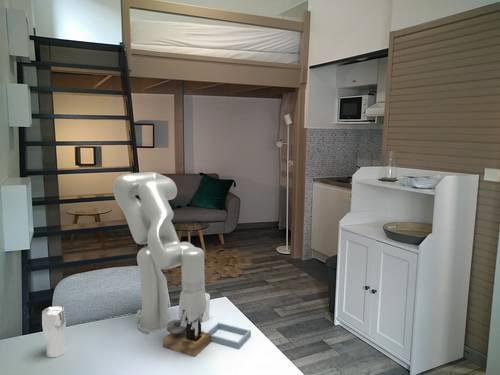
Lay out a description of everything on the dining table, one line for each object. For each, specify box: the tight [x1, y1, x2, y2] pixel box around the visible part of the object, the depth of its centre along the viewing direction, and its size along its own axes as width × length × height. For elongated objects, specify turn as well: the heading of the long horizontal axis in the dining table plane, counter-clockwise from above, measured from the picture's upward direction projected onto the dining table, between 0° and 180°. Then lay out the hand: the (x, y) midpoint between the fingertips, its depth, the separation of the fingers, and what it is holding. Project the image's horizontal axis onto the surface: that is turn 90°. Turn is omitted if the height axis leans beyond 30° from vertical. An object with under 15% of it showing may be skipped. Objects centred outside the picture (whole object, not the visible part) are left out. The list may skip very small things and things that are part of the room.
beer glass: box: [41, 305, 67, 359], centre depth 129 cm, size 7×7×15 cm
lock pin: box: [188, 316, 200, 342], centre depth 132 cm, size 4×4×11 cm
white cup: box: [202, 292, 211, 323], centre depth 152 cm, size 8×8×10 cm
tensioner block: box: [161, 319, 212, 358], centre depth 133 cm, size 14×10×8 cm
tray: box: [206, 322, 252, 350], centre depth 138 cm, size 13×9×3 cm
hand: (193, 335), depth 132 cm, fingers closed on lock pin, 3 cm apart
